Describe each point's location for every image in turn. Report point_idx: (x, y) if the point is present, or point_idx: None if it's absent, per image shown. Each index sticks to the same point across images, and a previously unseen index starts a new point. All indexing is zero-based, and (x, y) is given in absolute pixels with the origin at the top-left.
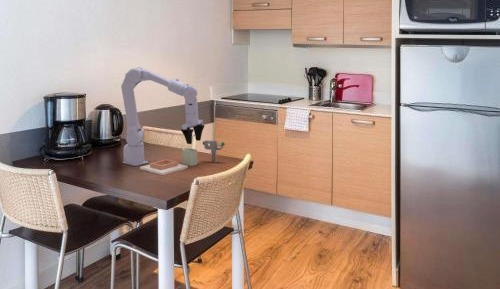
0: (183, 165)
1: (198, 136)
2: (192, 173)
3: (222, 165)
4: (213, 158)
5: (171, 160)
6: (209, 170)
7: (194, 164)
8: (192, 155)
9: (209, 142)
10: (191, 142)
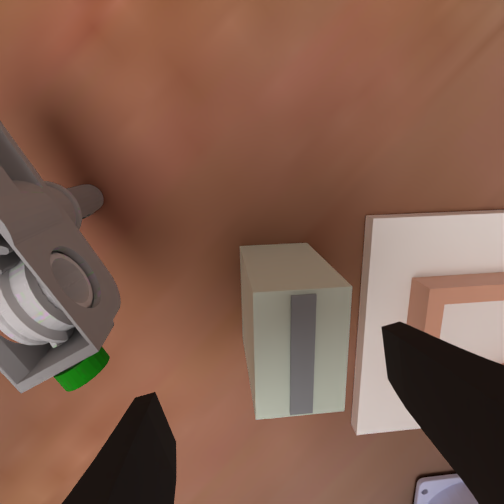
0: (384, 251)
1: (149, 468)
2: (463, 67)
3: (110, 43)
4: (87, 194)
5: None
6: (316, 15)
7: (272, 245)
8: (313, 270)
9: (44, 271)
10: (400, 331)
